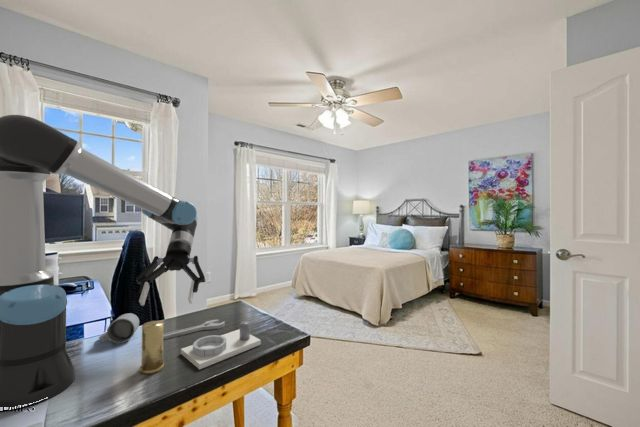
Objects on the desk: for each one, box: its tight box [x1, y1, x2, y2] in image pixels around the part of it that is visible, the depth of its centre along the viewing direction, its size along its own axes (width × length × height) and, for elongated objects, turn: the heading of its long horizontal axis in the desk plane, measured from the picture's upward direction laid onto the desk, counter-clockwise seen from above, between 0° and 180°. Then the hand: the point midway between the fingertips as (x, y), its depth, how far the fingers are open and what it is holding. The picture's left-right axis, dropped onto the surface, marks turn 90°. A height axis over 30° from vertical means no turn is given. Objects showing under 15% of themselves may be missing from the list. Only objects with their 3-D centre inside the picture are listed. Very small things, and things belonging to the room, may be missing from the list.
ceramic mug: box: [98, 312, 140, 344], centre depth 94 cm, size 11×8×8 cm
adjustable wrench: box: [163, 319, 226, 341], centre depth 100 cm, size 25×6×2 cm, turn 124°
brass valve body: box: [139, 320, 166, 376], centre depth 77 cm, size 6×6×12 cm
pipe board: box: [180, 320, 262, 370], centre depth 88 cm, size 20×12×6 cm, turn 138°
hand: (166, 302), depth 87 cm, fingers open, 13 cm apart
